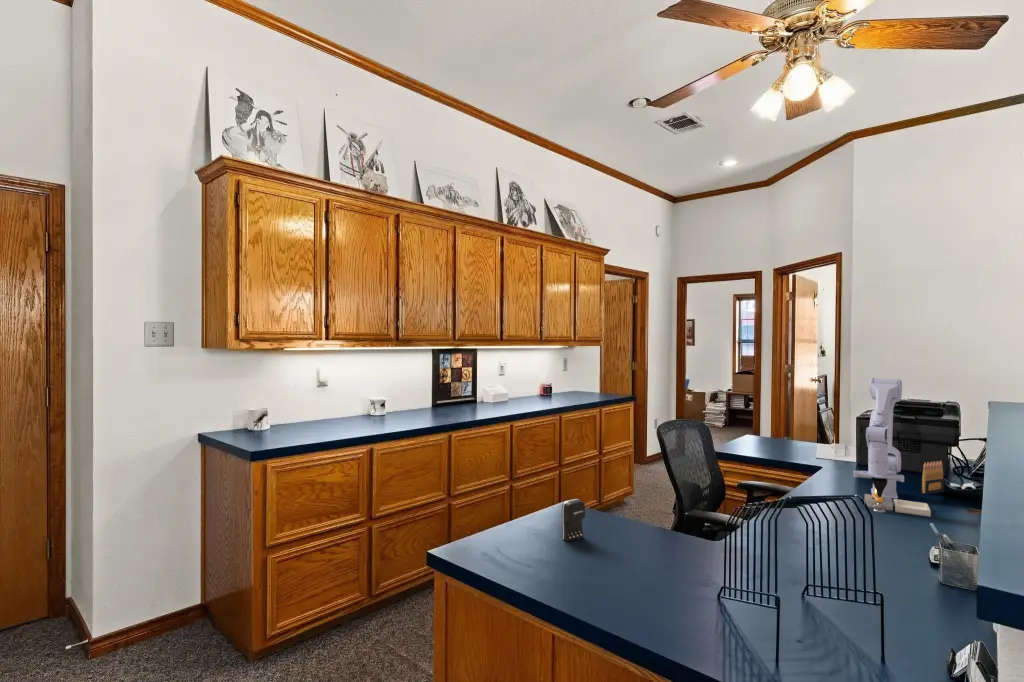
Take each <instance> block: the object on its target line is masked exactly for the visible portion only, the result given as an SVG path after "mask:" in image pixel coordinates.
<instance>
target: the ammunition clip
mask: <svg viewBox="0 0 1024 682" xmlns="http://www.w3.org/2000/svg"><path fill="white" fill-rule="evenodd" d="M943 467H944V466H943V461H942V460H937V461H935V460H934V461H930V462H929V461H927V462H926V461H925V462H924V464H923V469H922V477H921V478H922V479H921V480H920V481H921V483H920V493H921V494H923V495H932V494H938V493H944V492H945V478H944V469H943Z"/></svg>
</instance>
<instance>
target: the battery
mask: <svg viewBox="0 0 1024 682" xmlns="http://www.w3.org/2000/svg"><path fill="white" fill-rule="evenodd" d="M583 519H586V503H585V502H584V501H583V500H580V499H578V498H573V499H569V500H564V501H563V502H562V505H561V538H562V540H564V541H566V542H574V541H577V540H581V539H584V530H583Z"/></svg>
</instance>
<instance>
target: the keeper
mask: <svg viewBox="0 0 1024 682" xmlns="http://www.w3.org/2000/svg"><path fill="white" fill-rule="evenodd" d="M871 495H872V497H873V498H875V501H876V502H884V498H882V497H878V495H877V494H876V493H872V492H871Z"/></svg>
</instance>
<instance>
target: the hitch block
mask: <svg viewBox="0 0 1024 682" xmlns="http://www.w3.org/2000/svg"><path fill="white" fill-rule="evenodd" d="M882 498H884V502H876V501H875V499H874V498H873V497H872V494H869V493H864V503H865V502H866V504H867V506H868V507H867V508H871V509H872V511H873V512H875V513H879V514H880V513H881V514H883V513H886V510H887V511H892V512H893V511H894V504H893V498H891V497H885V496H882Z"/></svg>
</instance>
